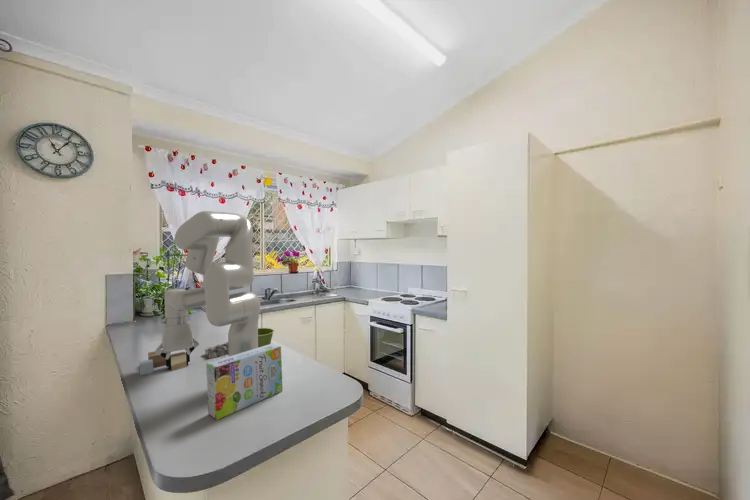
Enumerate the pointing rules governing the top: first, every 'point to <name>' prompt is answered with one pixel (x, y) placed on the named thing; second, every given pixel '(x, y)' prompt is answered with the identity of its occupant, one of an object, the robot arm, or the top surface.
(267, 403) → the top surface
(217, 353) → the egg carton
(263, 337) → the plant pot
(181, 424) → the top surface
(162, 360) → the walnut block
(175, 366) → the maple cube
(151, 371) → the slate cube
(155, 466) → the top surface
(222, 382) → the snack box
